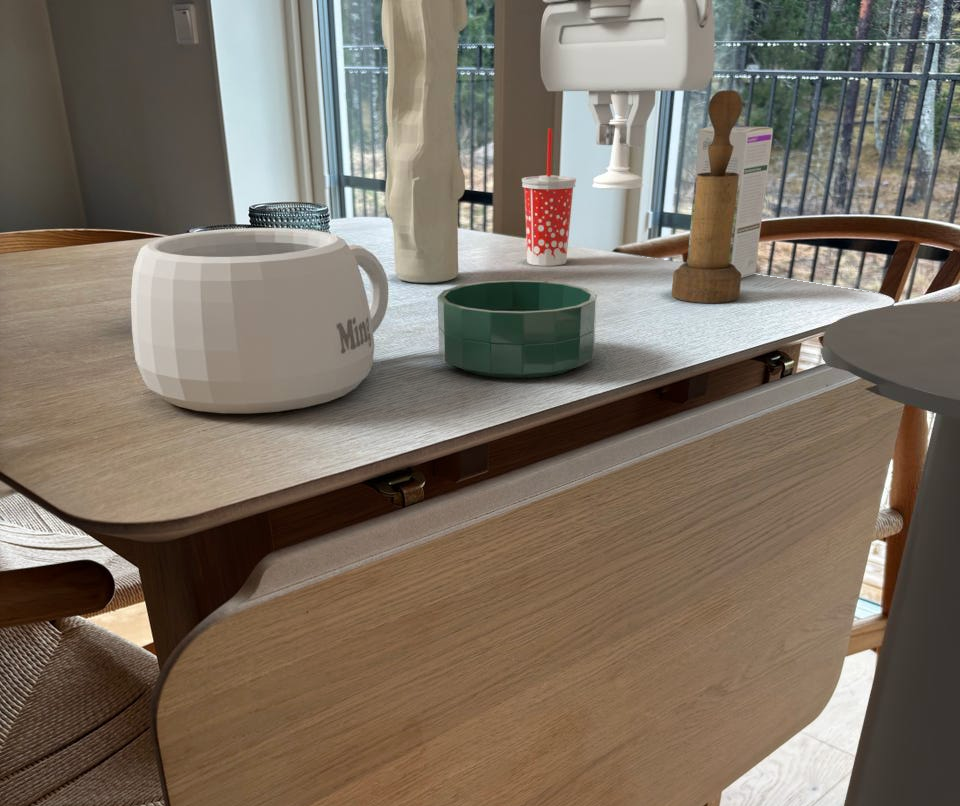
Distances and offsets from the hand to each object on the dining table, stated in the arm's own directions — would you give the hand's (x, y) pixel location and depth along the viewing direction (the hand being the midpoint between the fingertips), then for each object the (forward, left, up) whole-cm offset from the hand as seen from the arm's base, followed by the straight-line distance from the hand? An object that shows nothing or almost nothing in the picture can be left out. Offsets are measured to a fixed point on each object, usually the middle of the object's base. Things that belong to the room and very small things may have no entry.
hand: (618, 145), depth 95 cm
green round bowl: (-17, +25, -13) cm, 33 cm away
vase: (+16, +12, -14) cm, 24 cm away
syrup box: (-2, -15, -14) cm, 20 cm away
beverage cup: (+16, -5, -14) cm, 22 cm away
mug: (-11, +42, -14) cm, 46 cm away
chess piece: (0, 0, -4) cm, 4 cm away
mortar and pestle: (-9, -5, -14) cm, 17 cm away
